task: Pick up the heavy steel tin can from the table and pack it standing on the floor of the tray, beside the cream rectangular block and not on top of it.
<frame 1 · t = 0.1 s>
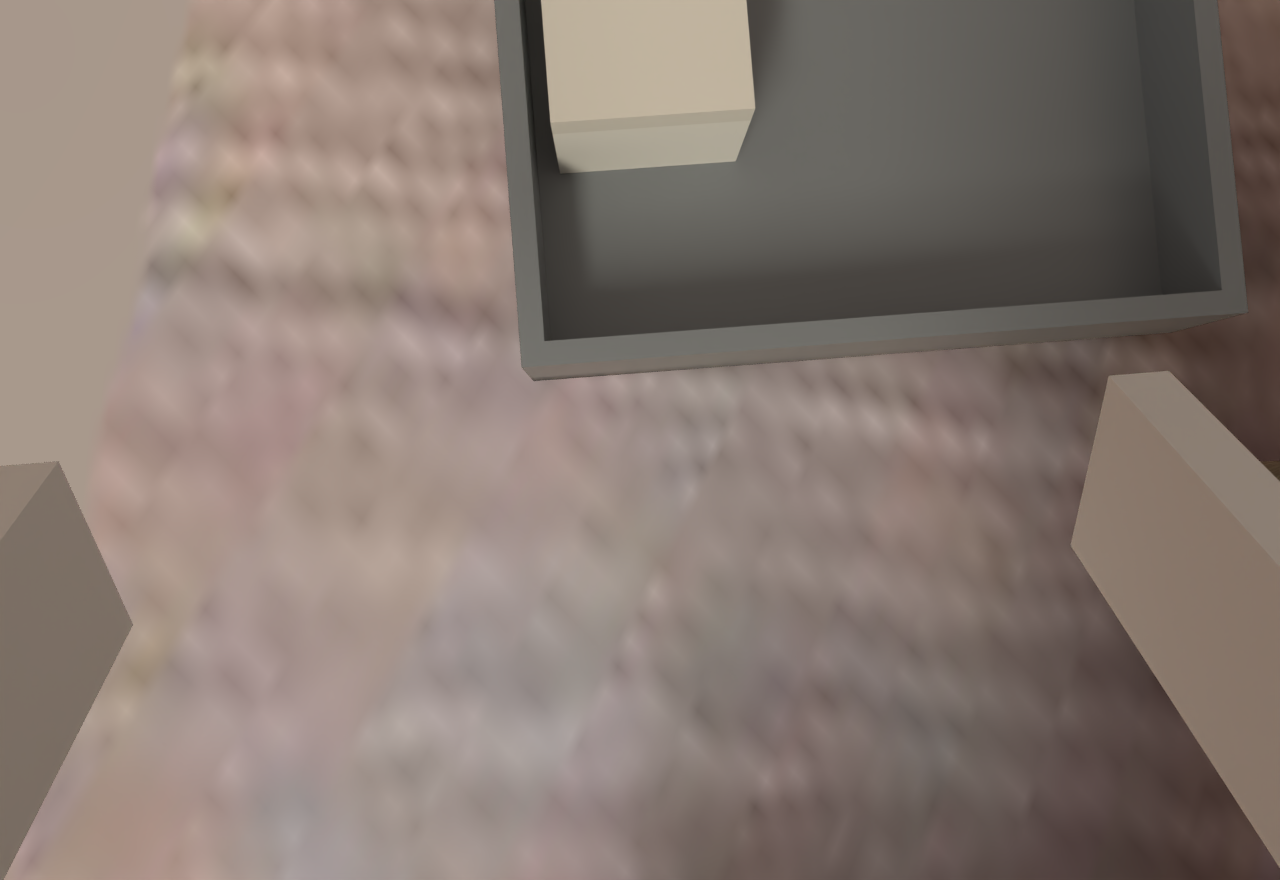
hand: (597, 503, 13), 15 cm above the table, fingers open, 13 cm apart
tray: (827, 40, 29), on the table
cream rectangular block: (638, 41, 28), point 1 cm above the table, touching tray
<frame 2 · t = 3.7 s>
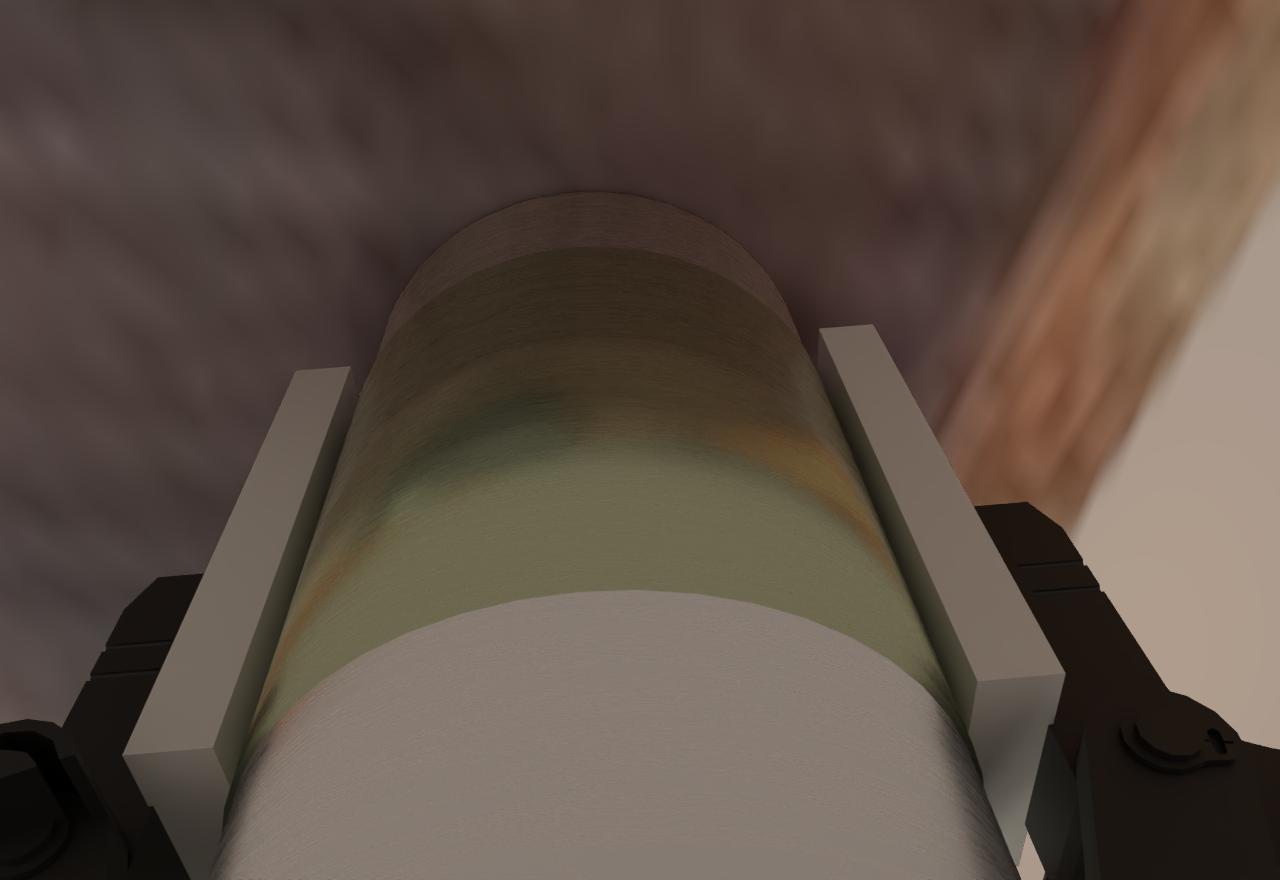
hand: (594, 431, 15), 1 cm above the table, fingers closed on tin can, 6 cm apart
tin can: (592, 395, 16), on the table, touching gripper
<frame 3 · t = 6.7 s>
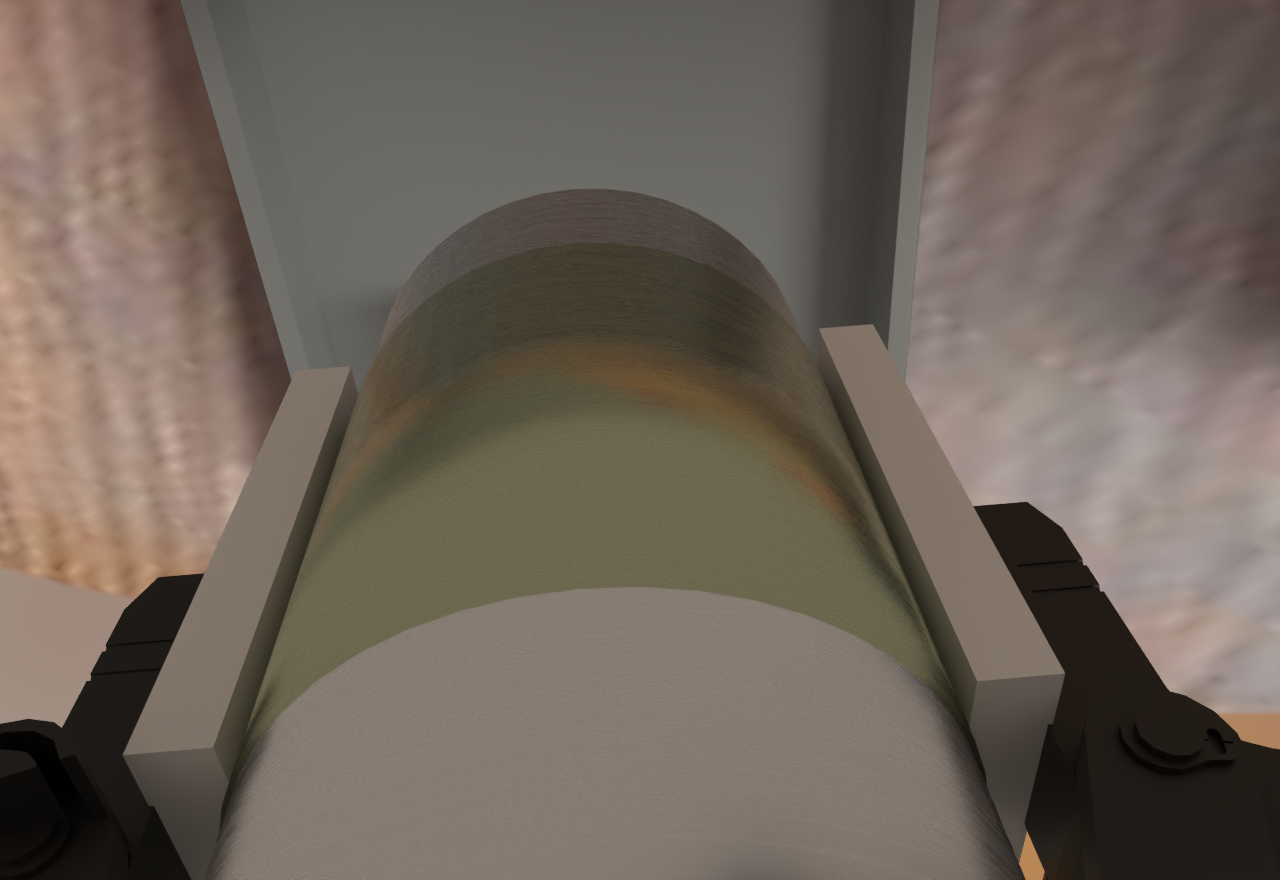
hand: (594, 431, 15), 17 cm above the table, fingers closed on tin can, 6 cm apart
tray: (592, 230, 31), on the table
tin can: (592, 393, 15), point 16 cm above the table, touching gripper
when the fingers open (3 cm above the table, at t = 10.1 s): tin can drops 1 cm, resting on tray.
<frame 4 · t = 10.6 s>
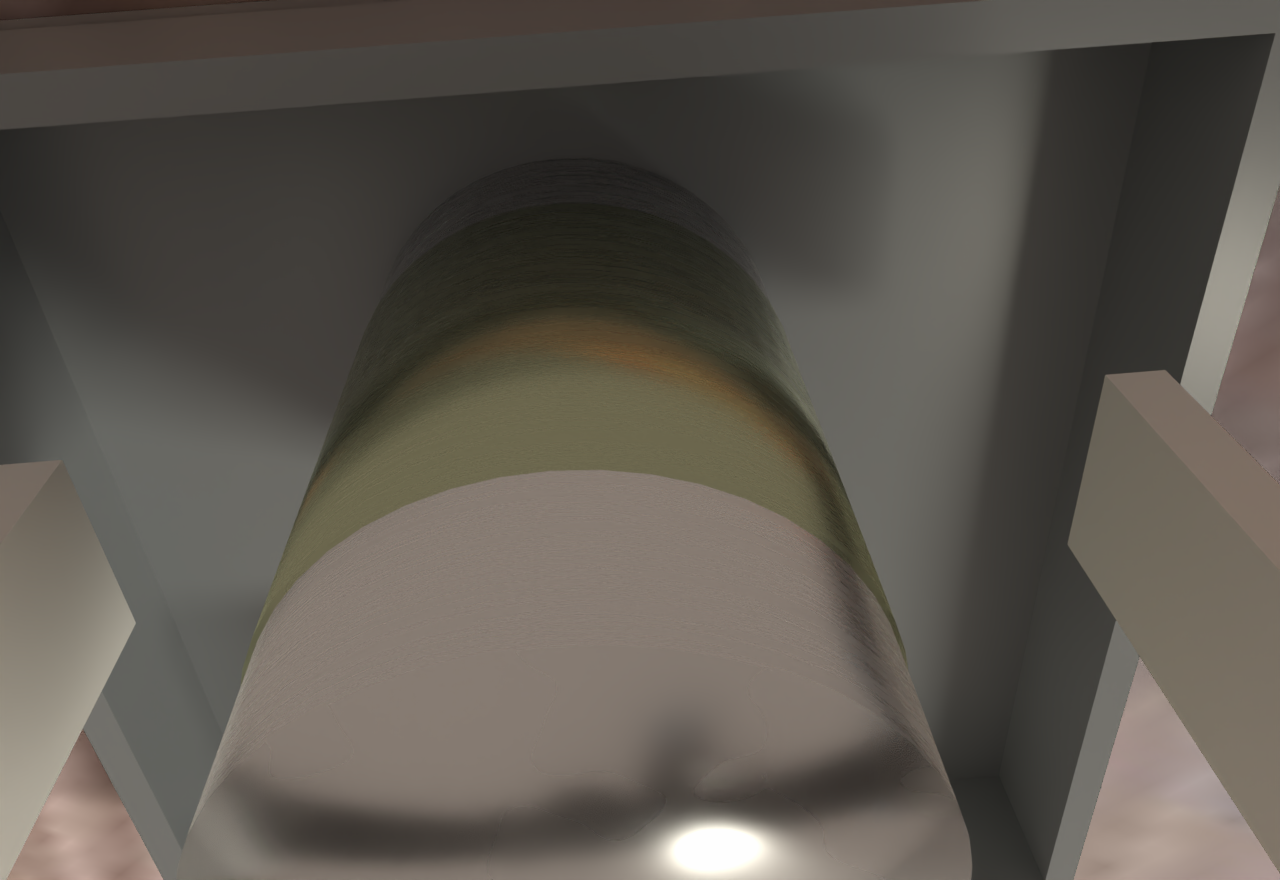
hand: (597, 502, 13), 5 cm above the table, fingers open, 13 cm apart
tray: (605, 492, 19), on the table
tin can: (577, 350, 17), point 1 cm above the table, touching tray
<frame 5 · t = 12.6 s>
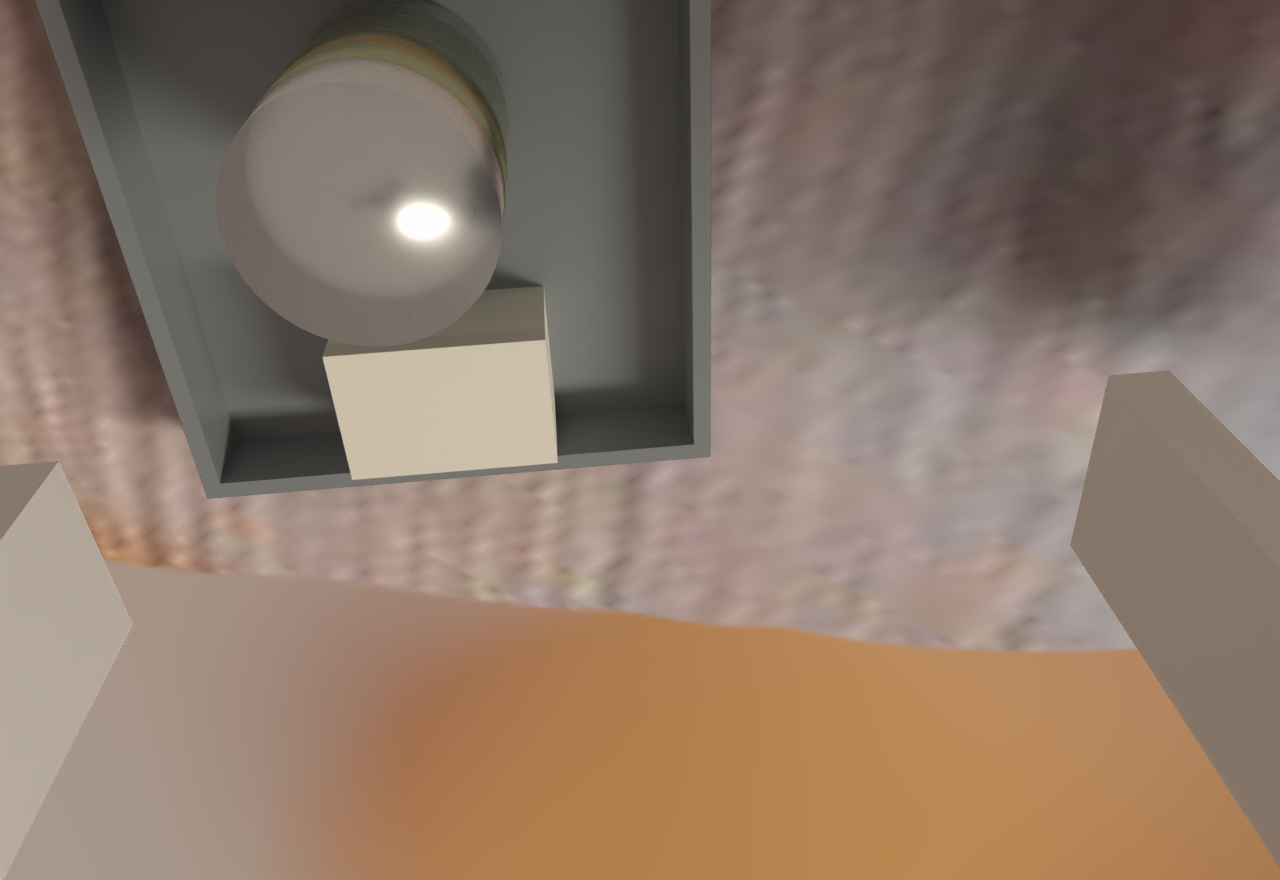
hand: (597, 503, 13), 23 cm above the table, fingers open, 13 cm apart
tray: (431, 202, 34), on the table
cream rectangular block: (452, 353, 37), point 1 cm above the table, touching tray
tin can: (405, 104, 32), point 1 cm above the table, touching tray
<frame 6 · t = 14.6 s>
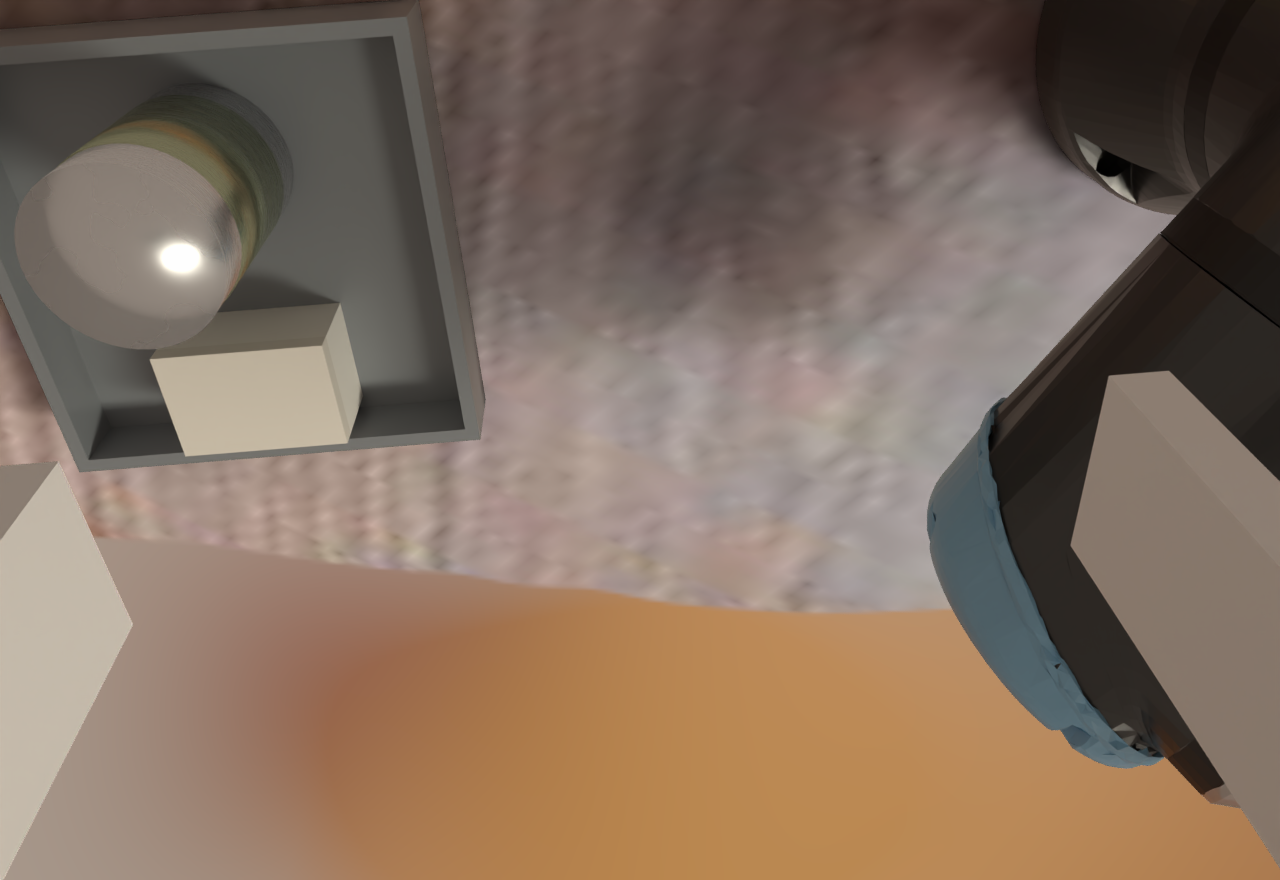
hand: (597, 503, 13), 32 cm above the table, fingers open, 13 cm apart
tray: (246, 237, 44), on the table
cream rectangular block: (274, 356, 46), point 1 cm above the table, touching tray
tin can: (212, 164, 41), point 1 cm above the table, touching tray
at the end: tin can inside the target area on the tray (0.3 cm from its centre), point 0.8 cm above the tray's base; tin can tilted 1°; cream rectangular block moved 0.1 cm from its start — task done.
